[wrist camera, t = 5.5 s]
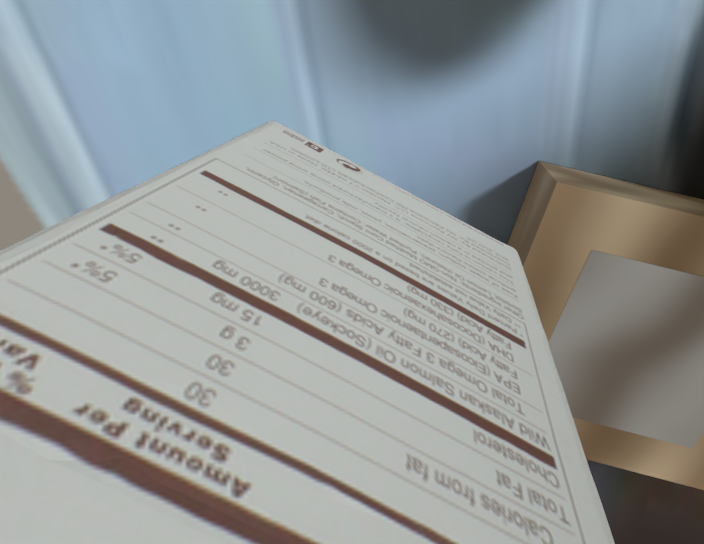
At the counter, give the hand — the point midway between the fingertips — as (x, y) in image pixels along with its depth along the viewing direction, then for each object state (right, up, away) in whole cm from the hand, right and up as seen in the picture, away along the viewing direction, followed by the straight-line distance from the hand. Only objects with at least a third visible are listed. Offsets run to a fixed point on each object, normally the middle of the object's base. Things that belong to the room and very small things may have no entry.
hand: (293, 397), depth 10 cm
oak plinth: (+16, 0, +17) cm, 23 cm away
